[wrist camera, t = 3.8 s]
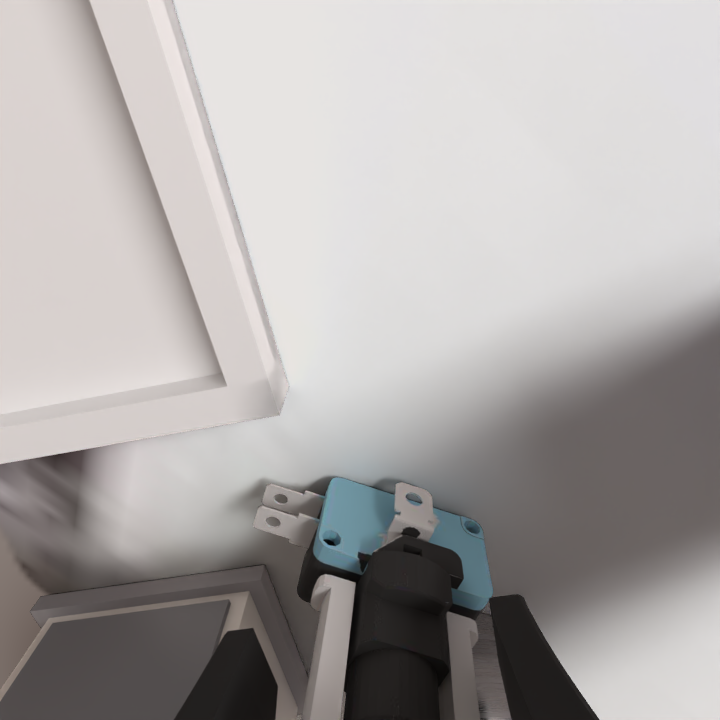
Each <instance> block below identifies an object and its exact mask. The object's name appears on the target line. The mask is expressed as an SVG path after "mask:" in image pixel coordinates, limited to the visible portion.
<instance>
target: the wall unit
mask: <svg viewBox="0 0 720 720" xmlns="http://www.w3.org/2000/svg"><path fill="white" fill-rule="evenodd" d="M30 613H31V615H32V616H33V617H34V619H35V620H36V622H37V623H38V625H39V626H40V628H41V630H40V632H39V634H38V635H37V636H36V638H35V639H34V641H33V642H32V644H31V645H30V646H29V648H28V649H27V651H26V652H25V654H24V655H23V657H22V658H21V660H20V661H19V663H18V664H17V665H16V667H15V668H14V670H13V672H12V673H11V674H10V676H9V677H8V679H7V680H6V682H5V683H4V685H3V686H2V687H1V689H0V720H174V718H175V717H176V715H177V713H178V712H179V710H180V709H181V707H182V705H183V704H184V702H185V701H186V699H187V697H188V696H189V694H190V692H191V691H192V689H193V687H194V686H195V684H196V682H197V681H198V679H199V677H200V676H201V674H202V672H203V671H204V669H205V667H206V665H207V664H208V662H209V660H210V659H211V657H212V655H213V654H214V652H215V650H216V648H217V647H218V645H219V643H220V642H221V640H222V638H223V637H224V635H225V634H226V632H227V631H232V630H240V629H248V628H253V629H254V631H255V633H256V636H257V638H258V640H259V643H260V645H261V647H262V650H263V652H264V654H265V657H266V659H267V661H268V664H269V666H270V668H271V671H272V673H273V675H274V678H275V680H276V682H277V685H278V693H277V706H276V718H275V720H296V717H297V715H300V714H302V713H303V708H304V702H305V696H306V691H307V685H308V679H309V678H308V676H307V673H306V671H305V668H304V665H303V663H302V660H301V658H300V655H299V652H298V650H297V647H296V645H295V642H294V640H293V637H292V634H291V632H290V629H289V627H288V624H287V621H286V619H285V616H284V614H283V611H282V608H281V606H280V603H279V601H278V598H277V596H276V593H275V590H274V588H273V585H272V583H271V580H270V577H269V575H268V572H267V570H266V567H265V565H260V566H252V567H245V568H238V569H231V570H224V571H217V572H210V573H203V574H196V575H189V576H182V577H174V578H167V579H160V580H153V581H146V582H139V583H132V584H125V585H118V586H111V587H104V588H97V589H89V590H82V591H75V592H68V593H61V594H54V595H47V596H41V597H40V598H39V599H38V601H37V602H36V604H35V605H34V606H33V608H32V609H31V610H30Z"/></svg>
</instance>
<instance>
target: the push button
mask: <svg viewBox="0 0 720 720" xmlns="http://www.w3.org/2000/svg"><path fill="white" fill-rule="evenodd" d="M276 494H283V495H285V496H286V497H287V499H288V501H287V502H286V503H279V502H277V501H276V500H275V498H274V496H275V495H276ZM408 494H412V495H415V496H417V497H418V498H419V499H420V500H421V503H422V504H421V503H418V502H414V501H411V500H408V499H406V495H408ZM262 503H263V505H266V506H269V507H272V508H275V509H278V510H282V511H285V512H288V513H291V514H294V515H296V516H293V515H290V514H287V513H284V512H281V511H278V510H274V509H271V508H268V507H265V506H260V507H258V510H257V513H256V516H255V519H254V522H253V526H254V528H256V529H260V530H263V531H266V532H269V533H272V534H275V535H279V536H282V537H285V538H288V539H290V540H289V543H291V544H294V545H297V546H300V547H304V548H307V549H308V550H307V552H306V555H305V557H304V561H303V566H302V570H301V574H300V578H299V582H298V587H297V592H298V595H299V597H300V598H301V599H302V600H304V601H306V602H309V603H311V607H312V608H313V609H315V610H316V611H319V612H320V618H319V623H318V629H317V635H316V640H315V646H314V651H313V657H312V663H311V668H310V674H309V679H308V685H307V691H306V696H305V702H304V708H303V713H302V719H301V720H340V718H341V709H342V700H343V691H345V692H346V701H345V710H344V720H480V714H479V706H478V697H477V689H476V681H475V673H474V665H473V656H472V647H473V646H474V645H475V643H476V642H477V640H478V630H477V624H476V622H475V620H476V619H477V617H478V616H479V614H480V613H481V611H482V610H483V608H484V607H485V605H486V604H487V603H488V601H489V598H491V597H492V595H493V587H492V581H491V576H490V570H489V565H488V560H487V554H486V549H485V543H484V534H483V530H482V528H481V526H480V525H479V524H478V523H477V522H476V521H474V520H472V519H470V518H467V517H464V516H458V515H454V514H451V513H448V512H445V511H442V510H439V509H436V508H433V504H432V495H431V494H430V493H429V492H428V491H427V490H424V489H421V488H418V487H415V486H412V485H409V484H406V483H403V482H400V483H398V484H396V485H395V495H393V494H390V493H387V492H384V491H381V490H377V489H374V488H371V487H368V486H365V485H362V484H359V483H356V482H353V481H350V480H347V479H344V478H338V477H337V478H333V479H332V480H331V482H330V484H329V486H328V489H327V491H326V494H325V496H322V495H319V494H316V493H313V492H310V491H307V490H306V491H305V494H303V493H300V492H296V491H293V490H290V489H287V488H284V487H281V486H278V485H275V484H271V483H270V484H267V487H266V490H265V493H264V496H263V499H262ZM268 517H275V518H277V519H278V520H279V521H280V525H278V526H271V525H269V524H268V523H267V521H266V519H267V518H268Z"/></svg>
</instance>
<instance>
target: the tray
mask: <svg viewBox="0 0 720 720" xmlns="http://www.w3.org/2000/svg"><path fill="white" fill-rule="evenodd" d="M288 389H289V385H288V382H287V378H286V375H285V372H284V368H283V365H282V362H281V358H280V355H279V352H278V348H277V345H276V342H275V338H274V335H273V332H272V329H271V325H270V322H269V319H268V315H267V312H266V309H265V305H264V302H263V299H262V295H261V292H260V289H259V285H258V282H257V279H256V275H255V272H254V269H253V265H252V262H251V259H250V256H249V252H248V249H247V246H246V242H245V239H244V236H243V232H242V229H241V226H240V222H239V219H238V216H237V212H236V209H235V206H234V202H233V199H232V196H231V193H230V189H229V186H228V183H227V179H226V176H225V173H224V169H223V166H222V163H221V159H220V156H219V153H218V149H217V146H216V143H215V139H214V136H213V133H212V129H211V126H210V123H209V120H208V116H207V113H206V110H205V106H204V103H203V100H202V96H201V93H200V90H199V86H198V83H197V80H196V76H195V73H194V70H193V66H192V63H191V60H190V56H189V53H188V50H187V47H186V43H185V40H184V37H183V33H182V30H181V27H180V23H179V20H178V17H177V13H176V10H175V7H174V3H173V0H0V464H3V463H9V462H15V461H20V460H26V459H32V458H38V457H43V456H49V455H55V454H60V453H66V452H72V451H78V450H83V449H89V448H95V447H101V446H106V445H112V444H118V443H124V442H129V441H135V440H141V439H147V438H152V437H158V436H164V435H169V434H175V433H181V432H187V431H192V430H198V429H204V428H210V427H215V426H221V425H227V424H233V423H238V422H244V421H250V420H255V419H261V418H267V417H273V416H278V415H280V412H281V409H282V407H283V404H284V401H285V398H286V395H287V392H288Z"/></svg>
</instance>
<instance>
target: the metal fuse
mask: <svg viewBox="0 0 720 720" xmlns="http://www.w3.org/2000/svg"><path fill="white" fill-rule="evenodd" d="M475 622H476V624H477V630H478V640H477V642H476V643H475V645H474V646H473V647H472V656H473V665H474V673H475V681H476V689H477V697H478V706H479V714H480V720H512V719H511V715H510V711H509V707H508V702H507V698H506V693H505V689H504V685H503V680H502V676H501V671H500V667H499V662H498V656H497V649H496V642H495V636H494V629H493V622H492V615H489V614H483V613H480V614H479V616H478V617H477V619H476V620H475Z"/></svg>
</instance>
